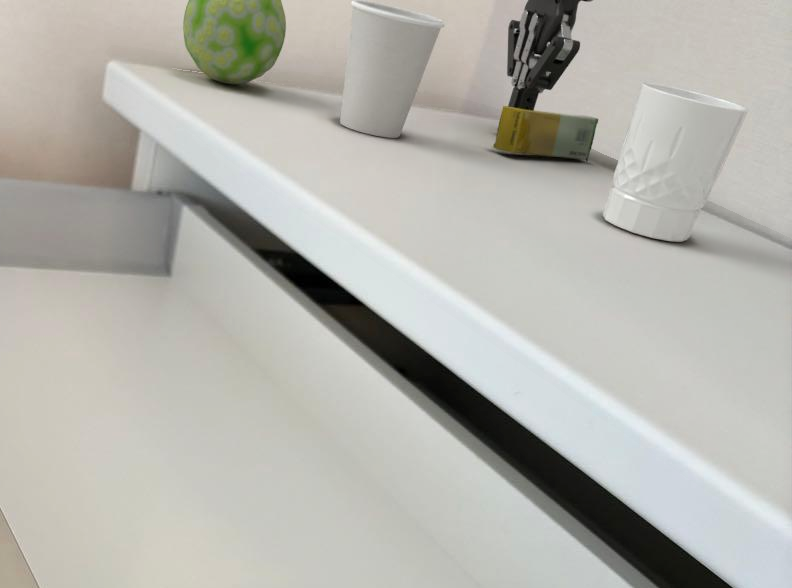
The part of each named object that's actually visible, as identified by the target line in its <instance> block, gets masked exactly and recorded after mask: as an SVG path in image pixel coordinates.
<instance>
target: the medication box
mask: <svg viewBox="0 0 792 588" xmlns="http://www.w3.org/2000/svg"><path fill="white" fill-rule="evenodd" d="M499 117H500V118H499V122H498V126H497V130H496V136H495V142H494V143H493V149H495V150H499V151H502V152H503V151H504V152H508V153H513V154H522V155H533V156H542V157H554V158H556V157H557V158H565V159H577V160H582V161H585V162H588V161H589V159H590V155H591V151H592V147H593V143H594V139H595V135H596V129H597V126H598V123H599V118H597V117H593V116H589V115H583V114H573V113H564V112H563V113H562V112H557V111H556V112H555V111H548V110H541V109H534V110H533V109H525V108H517V107H509V106H508V105H503V106H502V110H501V114H500V116H499Z"/></svg>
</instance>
